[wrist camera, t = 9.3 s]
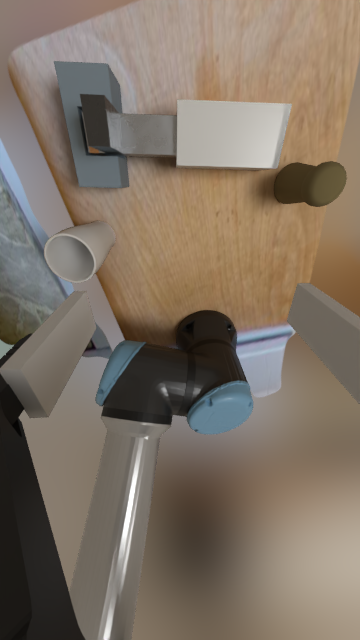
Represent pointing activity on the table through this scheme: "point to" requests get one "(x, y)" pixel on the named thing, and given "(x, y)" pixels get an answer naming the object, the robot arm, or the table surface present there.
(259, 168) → the sleeve
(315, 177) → the olive knob-topped post
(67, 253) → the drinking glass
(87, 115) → the sliding bolt
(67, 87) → the socket
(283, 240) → the table surface
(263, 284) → the table surface
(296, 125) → the table surface
